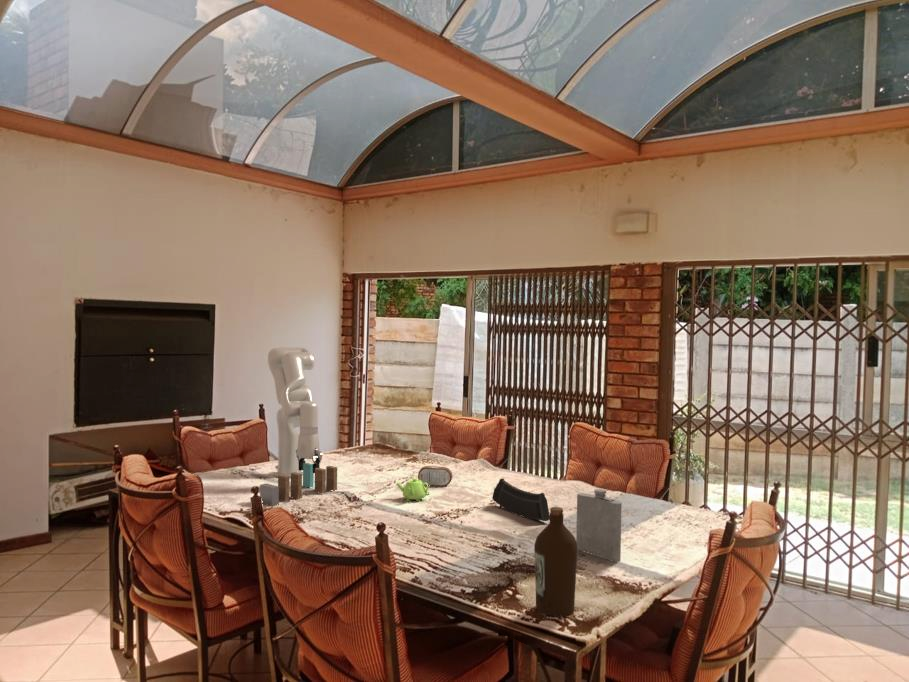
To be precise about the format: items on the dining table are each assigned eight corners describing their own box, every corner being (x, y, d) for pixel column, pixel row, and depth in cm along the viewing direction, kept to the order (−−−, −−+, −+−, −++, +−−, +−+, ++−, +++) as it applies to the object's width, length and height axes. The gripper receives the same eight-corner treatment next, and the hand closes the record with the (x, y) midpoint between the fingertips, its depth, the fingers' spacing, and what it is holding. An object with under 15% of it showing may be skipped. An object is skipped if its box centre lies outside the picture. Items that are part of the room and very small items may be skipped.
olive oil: (569, 599, 179) (571, 502, 178) (582, 617, 168) (584, 513, 168) (529, 601, 177) (530, 503, 177) (539, 618, 167) (540, 514, 166)
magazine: (555, 499, 246) (505, 461, 270) (548, 500, 245) (499, 462, 268) (545, 542, 251) (497, 500, 275) (538, 543, 249) (490, 501, 273)
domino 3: (309, 488, 297) (310, 464, 297) (302, 486, 300) (303, 463, 300) (313, 487, 298) (313, 464, 298) (306, 485, 301) (306, 462, 301)
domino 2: (298, 499, 278) (298, 474, 277) (290, 497, 281) (290, 472, 281) (301, 498, 279) (302, 473, 279) (294, 496, 282) (294, 471, 282)
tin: (452, 485, 306) (452, 466, 306) (451, 487, 303) (451, 468, 303) (418, 484, 307) (418, 465, 307) (417, 486, 304) (417, 466, 304)
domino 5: (333, 491, 291) (333, 467, 291) (326, 489, 294) (326, 466, 294) (337, 491, 293) (337, 467, 292) (329, 489, 296) (329, 465, 296)
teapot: (433, 500, 279) (434, 479, 278) (408, 504, 272) (409, 482, 272) (419, 495, 288) (420, 474, 288) (395, 498, 282) (395, 477, 282)
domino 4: (322, 494, 287) (322, 470, 286) (314, 492, 290) (314, 468, 290) (325, 493, 288) (325, 469, 288) (318, 491, 291) (318, 467, 291)
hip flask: (574, 549, 220) (575, 486, 219) (582, 546, 223) (583, 484, 222) (616, 562, 208) (617, 495, 208) (624, 559, 211) (625, 493, 210)
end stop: (259, 502, 272) (260, 484, 272) (266, 501, 274) (266, 483, 274) (271, 506, 267) (272, 487, 267) (278, 504, 269) (278, 486, 269)
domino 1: (285, 502, 273) (285, 476, 273) (277, 499, 276) (278, 474, 276) (289, 501, 274) (289, 476, 274) (281, 499, 278) (281, 474, 278)
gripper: (289, 430, 301) (289, 470, 301) (314, 433, 290) (314, 475, 290) (303, 429, 307) (303, 468, 307) (328, 432, 296) (328, 472, 295)
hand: (308, 471), depth 298 cm, fingers open, 9 cm apart
